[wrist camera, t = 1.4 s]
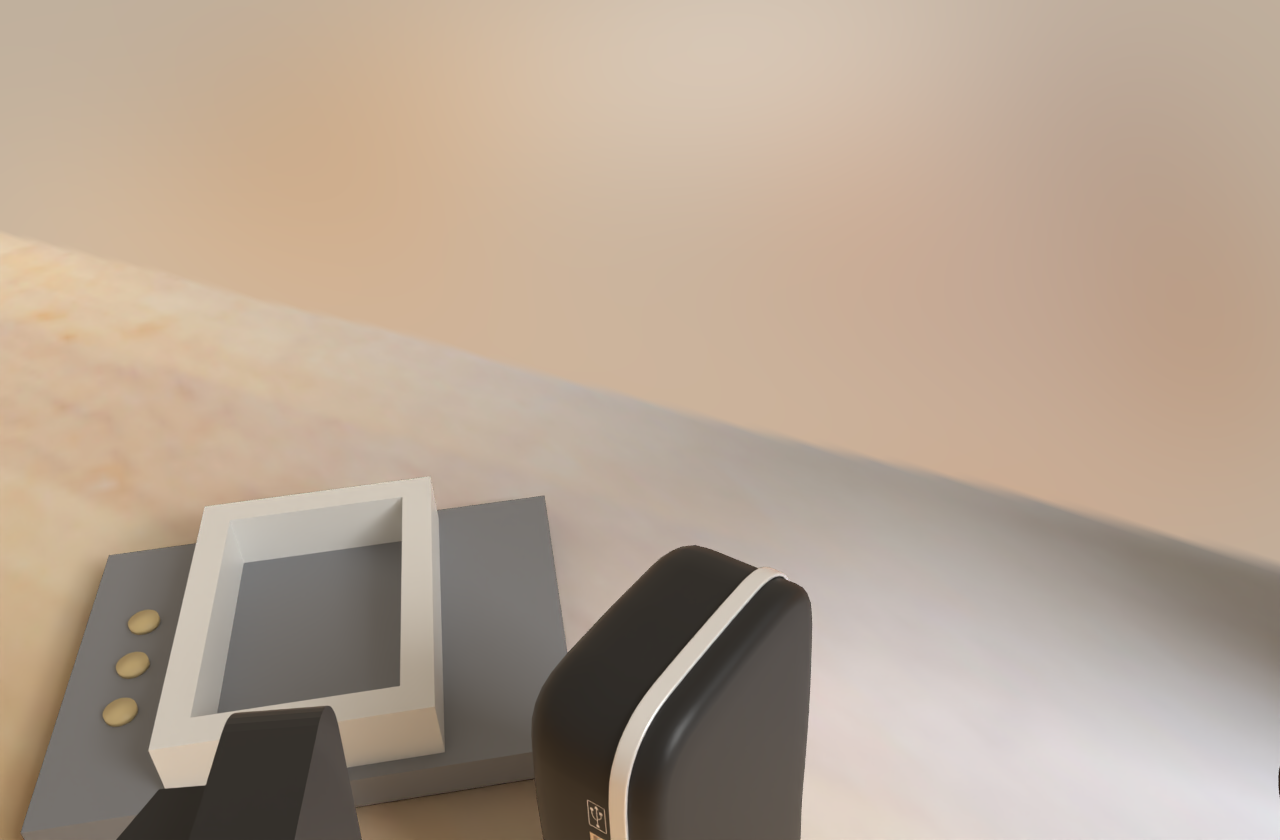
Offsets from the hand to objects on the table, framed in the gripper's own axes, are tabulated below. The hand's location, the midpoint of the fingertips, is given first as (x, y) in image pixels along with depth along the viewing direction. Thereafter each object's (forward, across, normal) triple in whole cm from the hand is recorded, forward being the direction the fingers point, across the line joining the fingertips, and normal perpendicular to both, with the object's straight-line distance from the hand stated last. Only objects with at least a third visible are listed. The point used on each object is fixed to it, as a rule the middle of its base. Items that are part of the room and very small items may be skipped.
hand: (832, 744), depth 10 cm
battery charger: (+14, 0, +20) cm, 25 cm away
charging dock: (+24, +11, +20) cm, 33 cm away
